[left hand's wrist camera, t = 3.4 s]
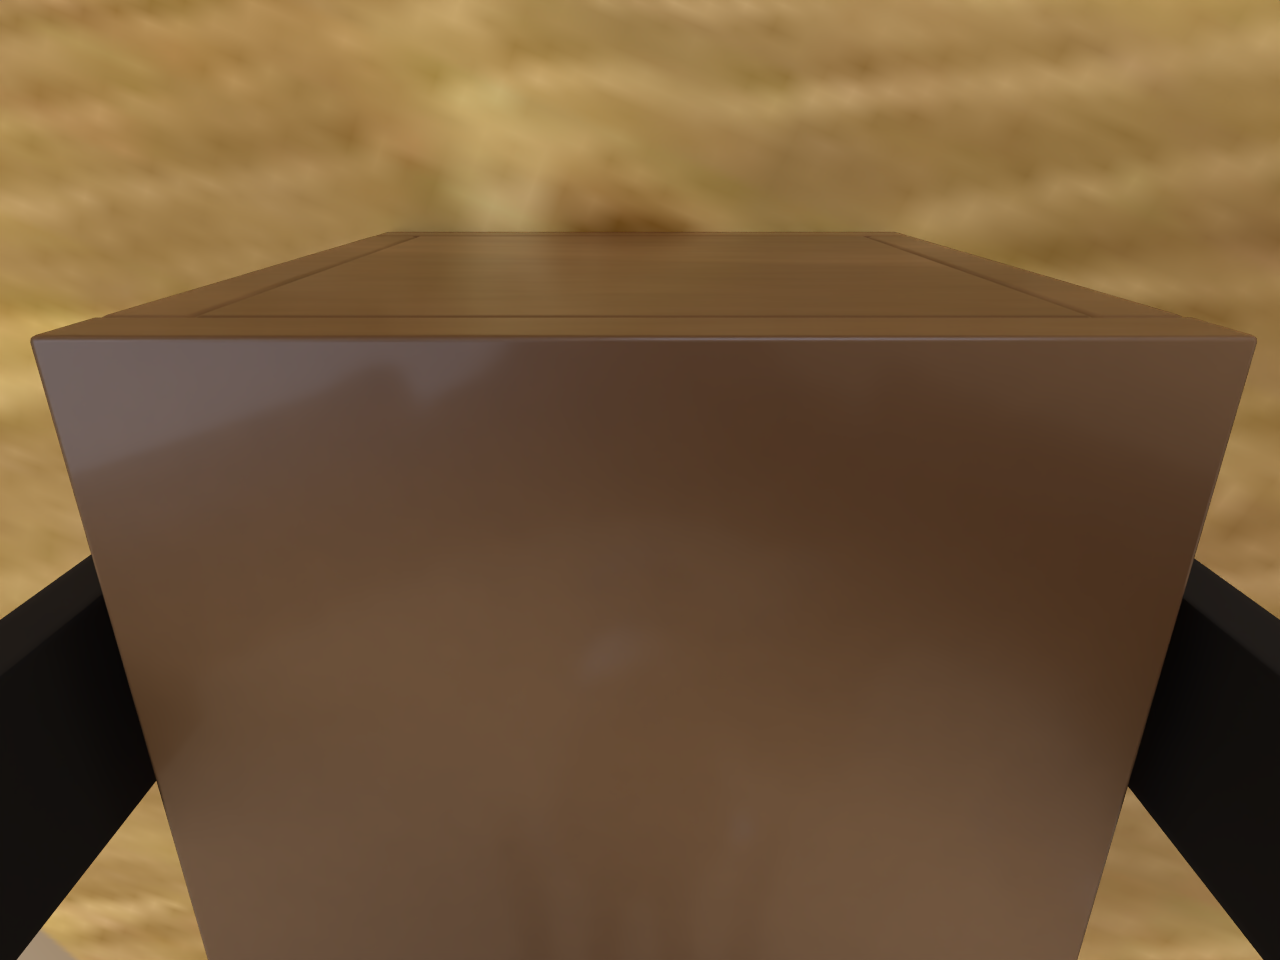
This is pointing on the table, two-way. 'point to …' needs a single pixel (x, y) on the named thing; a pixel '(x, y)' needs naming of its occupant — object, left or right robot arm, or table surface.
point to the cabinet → (643, 589)
